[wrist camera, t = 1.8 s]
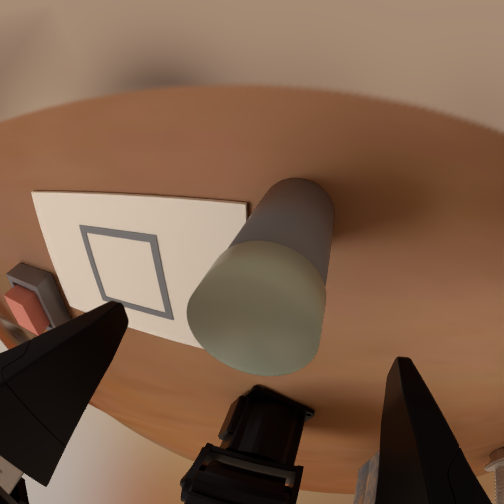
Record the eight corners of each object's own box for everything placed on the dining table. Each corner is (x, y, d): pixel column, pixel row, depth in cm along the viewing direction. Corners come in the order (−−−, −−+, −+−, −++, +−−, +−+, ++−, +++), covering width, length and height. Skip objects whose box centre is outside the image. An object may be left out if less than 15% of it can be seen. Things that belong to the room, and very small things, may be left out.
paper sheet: (247, 202, 17) (245, 205, 17) (250, 356, 24) (249, 360, 23) (33, 190, 22) (30, 192, 22) (71, 304, 29) (69, 306, 28)
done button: (36, 292, 26) (22, 305, 24) (50, 323, 28) (38, 335, 27) (16, 283, 27) (3, 295, 25) (30, 312, 30) (19, 324, 28)
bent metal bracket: (379, 468, 32) (370, 529, 24) (359, 467, 32) (348, 528, 24) (414, 436, 26) (410, 514, 18) (390, 435, 26) (382, 515, 18)
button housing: (51, 273, 27) (36, 286, 25) (72, 322, 31) (60, 336, 29) (19, 262, 29) (6, 273, 27) (39, 307, 32) (28, 319, 30)
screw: (507, 453, 24) (480, 461, 26) (517, 440, 22) (487, 449, 24) (510, 527, 13) (479, 537, 15) (522, 521, 11) (489, 533, 13)
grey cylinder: (350, 202, 15) (348, 325, 8) (311, 259, 18) (278, 390, 10) (280, 161, 15) (210, 249, 8) (247, 224, 18) (174, 336, 10)
